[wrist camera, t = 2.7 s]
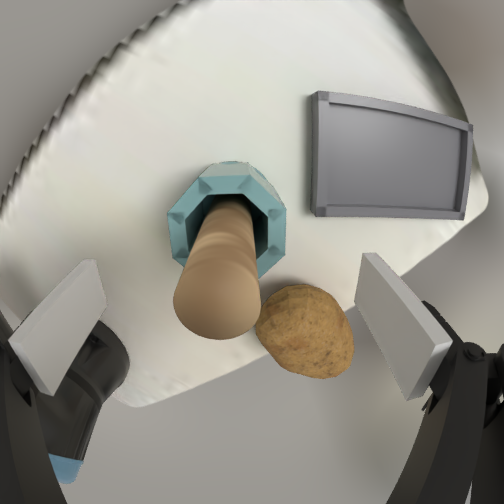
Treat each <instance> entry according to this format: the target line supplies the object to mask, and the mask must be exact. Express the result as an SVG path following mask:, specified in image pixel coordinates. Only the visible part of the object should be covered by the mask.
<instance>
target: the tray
mask: <svg viewBox="0 0 504 504" xmlns="http://www.w3.org/2000/svg"><path fill="white" fill-rule="evenodd" d="M472 146H473V125H472V124H469V123H466V122H463V121H461V120H458V119H455V118H452V117H448V116H445V115H442V114H439V113H435V112H432V111H428V110H425V109H421V108H417V107H413V106H409V105H405V104H400V103H396V102H391V101H386V100H381V99H376V98H370V97H364V96H358V95H351V94H343V93H335V92H326V91H317V92H315V93H313V94H312V179H311V205H310V210H311V211H312V213H313V214H314V215H315V216H316V217H392V218H424V219H448V220H464V216H465V211H466V205H467V198H468V191H469V183H470V174H471V162H472Z"/></svg>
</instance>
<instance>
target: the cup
mask: <svg viewBox="0 0 504 504" xmlns="http://www.w3.org/2000/svg"><path fill="white" fill-rule="evenodd" d="M237 193H243V194H244V195H245V196H246V197H247V198H248V199H250V206H251V215H252V224H253V234H254V243H255V253H256V262H257V272H258V279H259V278H260V277H261V276H262V275H264V274H265V273H266V272H267V271H268V270H269V269H270V268H271V267H272V266H273V265H275V264H276V263H277V262H278V261H279V260H280V259H281V258H282V257H283V256H285V237H286V208H285V206H284V204H283V202H282V201H281V199H280V197H279V195H278V194H277V192H276V190H275V189H274V187H273V186H272V185H271V184H270V183H269V182H268V181H267V180H266V178H265V177H264V176H263V174H262V173H261V172H260V171H258V170H257V169H256V168H254V167H253V166H251V165H250V164H249V163H248V162H247V163H242V162H237V161H228V162H222V163H219V164H212V165H210V166H209V167H208V168H207V169H206V170H205V171H204V172H203V173H202V174H201V175H200V176H199V177H198V178H197V179H196V181H195V182H194V183H193V184H192V185H191V186H190V187H189V189H188V190H187V191H186V192H185V193H184V194H183V195H182V197H181V198H180V199H179V200H178V201H177V202H176V204H175V205H174V206H173V207H172V208H171V209H170V210H169V211H168V212H167V216H168V225H169V233H170V241H171V248H172V256H173V257H172V258H174V259H175V260H176V261H177V262H178V263H180V264H181V265H182V266H183V267H185V265H186V262H187V260H188V257H189V255H190V252H191V250H192V248H193V245H194V243H195V240H196V238H197V236H198V233H199V231H200V229H201V226H202V224H203V222H204V219H205V217H206V215H207V213H208V210H209V208H210V206H211V204H212V201H213V199H214V197H215V195H216V194H237Z"/></svg>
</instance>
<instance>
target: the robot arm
mask: <svg viewBox="0 0 504 504" xmlns="http://www.w3.org/2000/svg"><path fill="white" fill-rule="evenodd" d="M354 302H355V304H356V306H357V308H358V309H359V311H360V313H361V315H362V317H363V318H364V320H365V322H366V323H367V325H368V327H369V329H370V331H371V333H372V335H373V337H374V338H375V340H376V342H377V344H378V346H379V348H380V350H381V351H382V354H383V355H384V357H385V359H386V361H387V363H388V365H389V367H390V369H391V371H392V373H393V375H394V377H395V379H396V381H397V383H398V385H399V387H400V389H401V391H402V393H403V395H404V398H405V400H406V401H408V400H411V399H414V398H417V397H421V396H423V395H424V393H425V391H426V390H427V388H428V386H430V388H431V390H432V391H433V393H432V394H431V396H430V397H429V399H428V400H427V402H426V403H425V405H424V406H423V408H422V410H423V411H424V410H425V408H426V407H427V408H426V411H425V414H424V417H423V420H422V423H421V426H420V429H419V432H418V435H417V438H416V440H415V443H414V445H413V448H412V451H411V453H410V455H409V458H408V460H407V462H406V465H405V467H404V469H403V471H402V473H401V475H400V478H399V480H398V482H397V484H396V486H395V488H394V490H393V492H392V494H391V495H390V497H389V499H388V501H387V503H386V504H465V501H466V498H467V495H468V492H469V489H470V486H471V482H472V490H471V500H470V504H504V400H503V402H502V403H500V399H499V398H500V396H501V395H502V394H503V397H504V344H502V345H501V347H500V349H499V351H498V353H486V352H485V351H484V349H482V348H481V347H480V346H479V345H477V344H475V343H471V342H465V343H464V342H463V341H462V340H461V339H460V337H459V336H458V335H457V334H456V332H455V331H454V330H453V329H452V328H451V326H450V325H449V324H448V323H447V322H445V319H444V318H443V317H442V316H440V313H439V312H438V311H437V310H436V309H435V307H433V306H432V305H430V304H429V303H427V302H426V301H420V300H419V299H418V298H417V296H416V295H415V294H414V293H413V292H412V291H411V290H410V289H409V287H408V286H407V285H406V284H405V283H404V282H403V281H402V280H401V278H400V277H399V276H398V275H397V274H396V273H395V272H394V271H393V270H392V269H391V268H390V266H389V265H388V264H387V263H386V262H385V261H384V260H383V259H382V258H381V257H380V256H379V255H378V254H377V253H363V254H362V260H361V266H360V272H359V278H358V283H357V289H356V294H355V299H354ZM107 306H108V303H107V299H106V296H105V293H104V289H103V286H102V282H101V279H100V275H99V271H98V268H97V264H96V260H95V259H84V260H83V261H81V262H80V263H79V264H78V265H77V266H76V267H75V268H74V269H73V270H72V271H71V272H70V273H69V274H68V275H67V276H66V277H65V278H64V279H63V280H62V281H61V282H60V283H59V284H58V285H57V286H56V287H55V288H54V289H53V290H52V291H51V292H50V293H49V294H48V295H47V296H46V297H45V298H44V300H43V301H42V302H41V303H40V304H39V305H38V306H37V307H36V308H35V309H34V310H33V311H32V312H31V313H30V314H29V315H28V316H27V317H26V318H25V320H23V322H22V323H21V324H20V326H18V328H17V329H16V330H15V331H13V330H12V329H11V327H10V325H9V324H8V322H7V321H6V319H5V318H4V316H3V314H2V313H1V311H0V504H67V502H66V500H65V498H64V495H63V493H62V491H61V488H60V485H59V483H58V482H60V483H63V484H68V483H71V482H73V481H74V480H75V479H76V477H77V474H78V471H79V469H80V467H81V465H82V464H83V460H84V457H85V453H86V450H87V447H88V444H89V441H90V438H91V435H92V432H93V429H94V426H95V423H96V420H97V417H98V414H99V412H100V409H101V407H102V404H103V403H104V402H105V401H106V400H107V398H108V397H109V396H110V395H111V394H112V393H113V392H114V391H115V390H116V388H118V387H119V386H120V385H121V384H122V383H123V382H124V380H125V378H126V375H127V373H128V370H129V366H130V362H129V357H128V354H127V351H126V349H125V347H124V346H123V344H122V343H121V341H120V340H119V339H118V337H117V336H116V335H115V334H114V333H113V332H112V331H111V330H110V329H109V328H108V327H107V326H105V325H104V324H103V323H102V322H100V321H99V318H100V317H101V315H102V314H103V312H104V310H105V309H106V308H107Z"/></svg>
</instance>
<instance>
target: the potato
mask: <svg viewBox="0 0 504 504" xmlns="http://www.w3.org/2000/svg"><path fill="white" fill-rule="evenodd" d="M255 324H256V335H257V336H258V338H259V340H260V341H261V343H262V345H263V346H264V347H265V348H266V350H267V351H268V352H269V353H270V354H271V355H272V357H273V358H274V359H275V361H276V362H277V363H278V364H279V365H280V366H281V367H283V368H284V369H286V370H288V371H290V372H293V373H297V374H301V375H305V376H308V377H312V378H319V379H325V378H331V377H336V376H338V375H339V374H340V373H342V372H343V371H345V370H346V369H348V367H349V366H350V364H351V361H352V357H353V353H354V341H353V334H352V330H351V328H350V325H349V322H348V320H347V318H346V316H345V314H344V312H343V311H342V309H341V307H340V306H339V304H338V303H337V301H336V300H335V299H334V298H333V296H332V295H330V294H329V293H327V292H325V291H324V290H322V289H320V288H317V287H314V286H310V285H306V284H302V285H293V286H286V287H284V288H282V289H281V290H279V291H277V292H276V293H274V294H273V295H272V296H271V297H269V298H268V299H267V301H266V302H265V303H264V304H263V306H262V307H261V311H260V315H259V317H258V320H257V321H256V323H255Z"/></svg>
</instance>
